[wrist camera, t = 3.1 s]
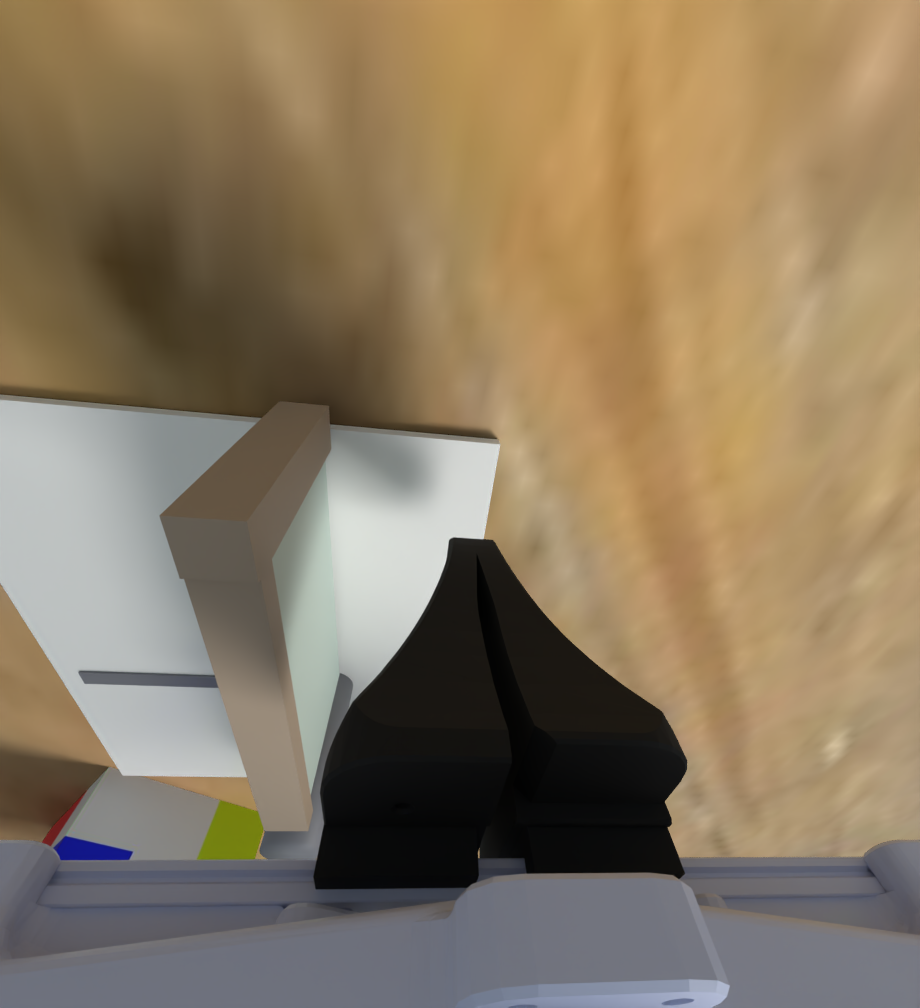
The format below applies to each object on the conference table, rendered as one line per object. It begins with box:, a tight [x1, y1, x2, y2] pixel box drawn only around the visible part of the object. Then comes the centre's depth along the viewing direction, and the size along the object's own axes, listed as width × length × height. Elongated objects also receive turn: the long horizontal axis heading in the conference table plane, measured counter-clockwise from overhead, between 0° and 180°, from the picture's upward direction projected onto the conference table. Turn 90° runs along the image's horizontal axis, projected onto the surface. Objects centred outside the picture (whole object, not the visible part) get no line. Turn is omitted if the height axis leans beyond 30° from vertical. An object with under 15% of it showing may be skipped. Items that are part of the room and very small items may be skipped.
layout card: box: [0, 394, 500, 777], centre depth 18 cm, size 18×22×1 cm
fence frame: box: [260, 673, 353, 859], centre depth 19 cm, size 2×10×7 cm, turn 174°
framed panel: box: [159, 401, 340, 831], centre depth 13 cm, size 12×1×6 cm, turn 174°
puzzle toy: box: [42, 767, 264, 860], centre depth 23 cm, size 10×10×10 cm
